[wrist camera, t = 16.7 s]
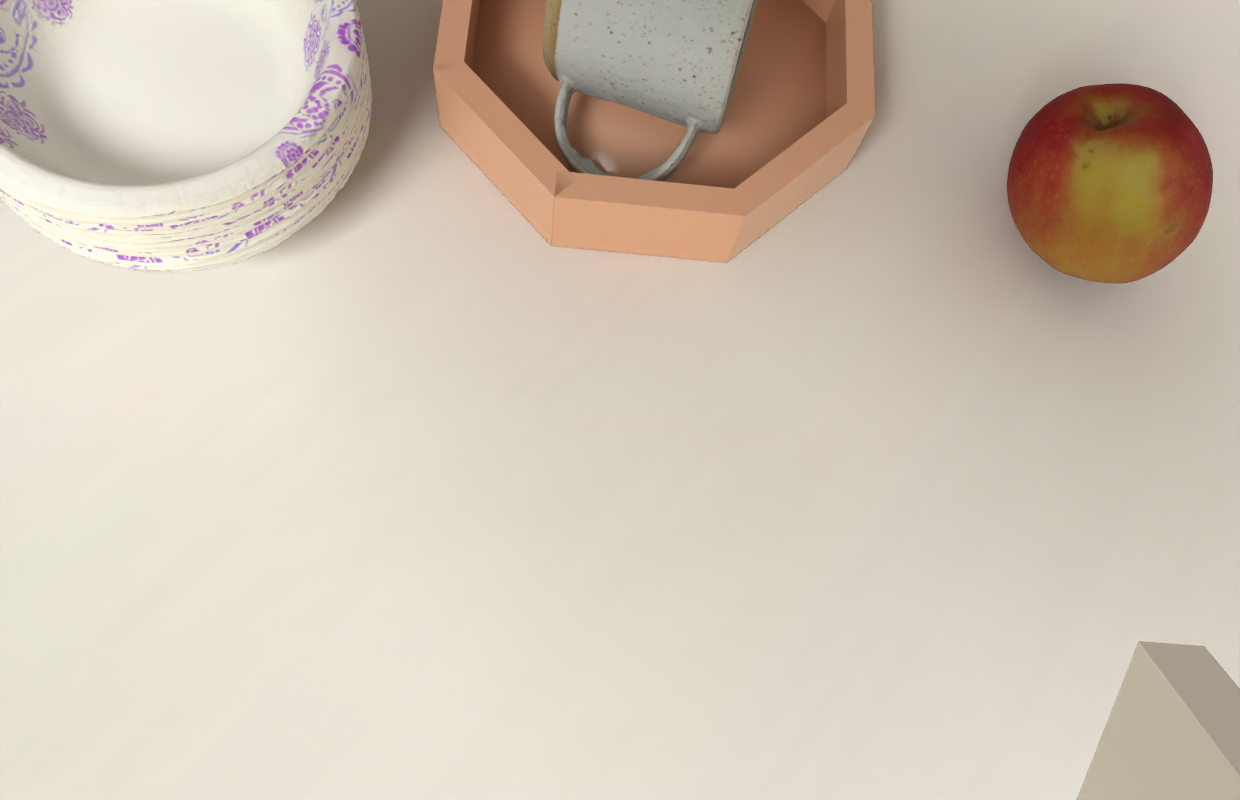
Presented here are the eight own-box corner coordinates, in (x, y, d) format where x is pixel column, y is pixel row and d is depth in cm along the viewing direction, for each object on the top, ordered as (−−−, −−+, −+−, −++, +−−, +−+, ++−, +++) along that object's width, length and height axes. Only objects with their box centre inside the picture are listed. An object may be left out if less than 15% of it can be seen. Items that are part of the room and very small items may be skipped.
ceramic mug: (577, -15, 48) (586, -152, 41) (748, 31, 48) (788, -97, 41) (512, 177, 44) (510, 66, 37) (697, 228, 44) (730, 125, 37)
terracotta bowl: (424, 233, 44) (416, 182, 40) (471, -101, 50) (467, -171, 47) (848, 274, 45) (878, 229, 42) (843, -58, 52) (868, -122, 48)
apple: (1114, 152, 49) (1221, 39, 41) (1161, 308, 46) (1285, 218, 39) (960, 158, 48) (1042, 44, 40) (1000, 318, 45) (1095, 228, 38)
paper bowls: (423, 256, 44) (403, 151, 36) (45, 348, 41) (-60, 254, 34) (340, -26, 48) (307, -171, 41) (-6, 39, 46) (-109, -104, 38)
